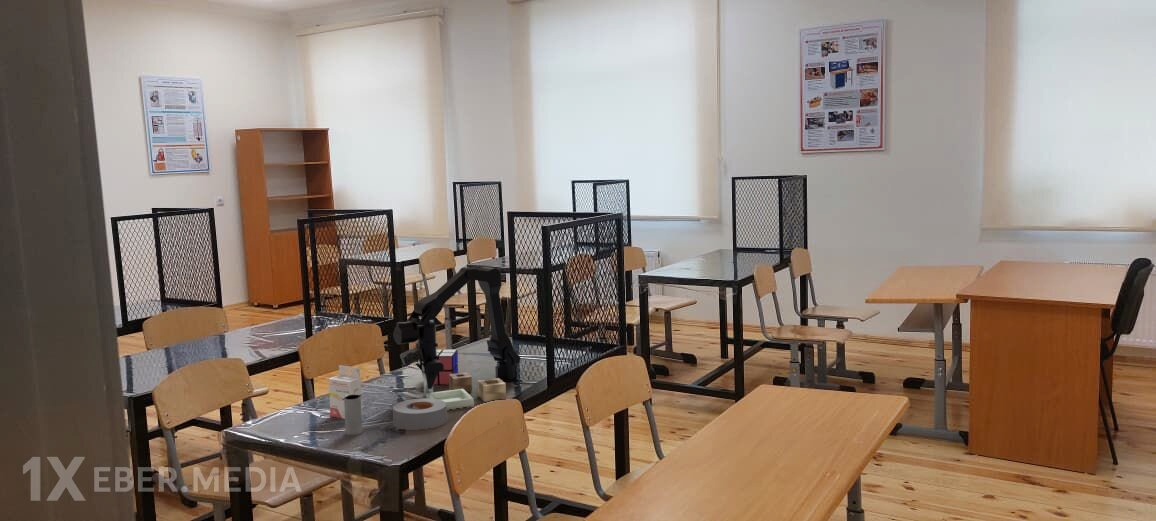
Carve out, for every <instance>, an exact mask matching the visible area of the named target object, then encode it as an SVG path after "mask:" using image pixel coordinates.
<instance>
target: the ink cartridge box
mask: <svg viewBox="0 0 1156 521" xmlns="http://www.w3.org/2000/svg"><path fill="white" fill-rule="evenodd" d="M348 370H350V371H352V372H350V371H348ZM338 371H339V372H338V373H339V374H338V375H335V376H332V377H330V378H328V386H329V388H328V389H329V390H328V391H329V392H328V394H329V395H328V396H329V412H330V413H329V416H330V417H332V418H339V419H344V420H345V408H344V397H345V396H348V395H360V396H361V408H362V409H363V397H362V396H363V394H362V377H361V368H360V367H354V366H348V365H347V366H346V365H342V364H340V365H338Z"/></svg>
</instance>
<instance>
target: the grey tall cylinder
mask: <svg viewBox="0 0 1156 521" xmlns="http://www.w3.org/2000/svg"><path fill="white" fill-rule="evenodd" d="M344 408H345V419H344V424H345V425H344V426H345V434H346V435H347V436H358V435H361V434H362V433H363V407H362V408H361V396H360V395H348V396H345V397H344Z"/></svg>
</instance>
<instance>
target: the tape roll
mask: <svg viewBox="0 0 1156 521" xmlns="http://www.w3.org/2000/svg"><path fill="white" fill-rule="evenodd" d="M447 412H448V410H447V409H446V403H445V402H444V401H442V400H439V399H432V398H426V397H424V398H413V399H412V398H411V399H406V400H402V401H399V402H397V403H395V404H394V405H393V406H392V414H393V415H392V421H393V422H392V423H393V426H394V427H395V428H397V429H400V430H404V429H405V431H420V430H419V429H425V430H429V429H428V428H431V429H434V428H433V427H435V428H438V427H437V426H439V427H441V426H443V425H444V423H445V422H446V421H448V414H447ZM446 423H447V422H446ZM446 423H445V424H446ZM442 424H443V425H442ZM440 425H441V426H440ZM417 429H418V430H417Z"/></svg>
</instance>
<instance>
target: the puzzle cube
mask: <svg viewBox="0 0 1156 521" xmlns="http://www.w3.org/2000/svg"><path fill="white" fill-rule="evenodd" d="M436 352H437V356H438V359H436V360H439V361H440V362H441V363H442V364H444V371H440V372H439V373H438V375H437V377H436V379H435V382H434V385H433V386H445V385H446V386H449V374H457V373H459V361H458V360H459V359H458V358H459V357H458V356H459V354H458V349H436ZM435 384H436V385H435Z"/></svg>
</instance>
